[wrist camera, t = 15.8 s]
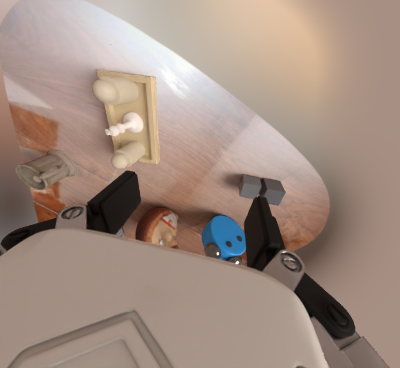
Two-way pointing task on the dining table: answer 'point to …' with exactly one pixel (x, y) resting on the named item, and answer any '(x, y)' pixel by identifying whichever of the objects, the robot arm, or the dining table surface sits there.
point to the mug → (46, 170)
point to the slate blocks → (261, 189)
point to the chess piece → (127, 125)
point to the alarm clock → (224, 239)
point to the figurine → (158, 227)
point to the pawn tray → (124, 103)
